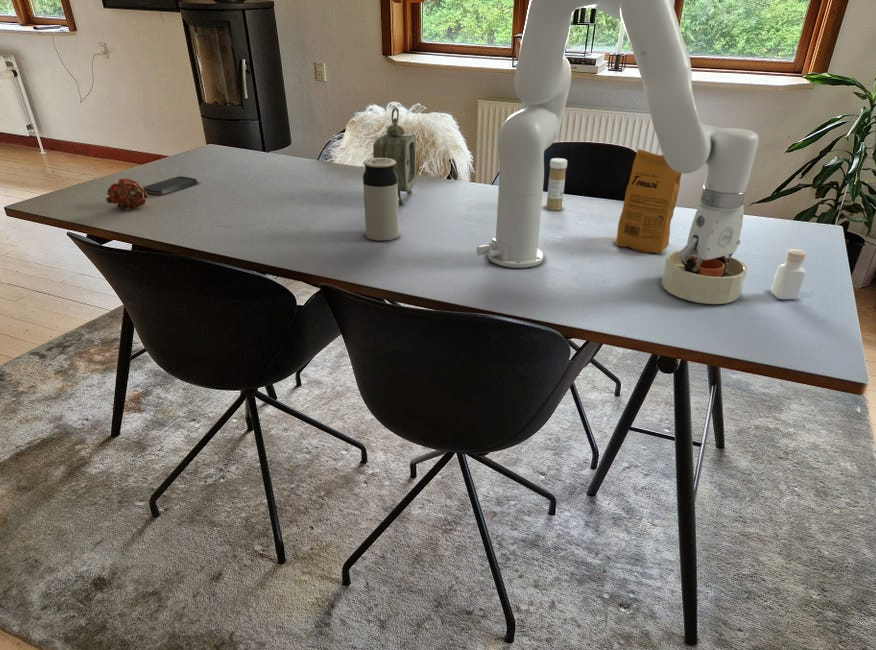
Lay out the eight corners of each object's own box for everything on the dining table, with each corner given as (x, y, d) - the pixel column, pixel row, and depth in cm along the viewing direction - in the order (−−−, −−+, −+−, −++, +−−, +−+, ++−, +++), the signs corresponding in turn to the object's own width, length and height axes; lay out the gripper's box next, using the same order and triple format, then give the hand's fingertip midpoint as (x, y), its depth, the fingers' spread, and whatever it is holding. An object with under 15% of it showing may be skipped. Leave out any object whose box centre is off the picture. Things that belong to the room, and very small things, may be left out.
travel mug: (403, 232, 156) (401, 158, 147) (392, 243, 150) (389, 166, 140) (373, 229, 158) (369, 156, 149) (361, 239, 151) (356, 163, 142)
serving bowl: (703, 312, 120) (710, 283, 117) (645, 283, 132) (651, 256, 128) (755, 296, 127) (763, 269, 124) (696, 270, 138) (702, 244, 135)
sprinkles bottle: (553, 205, 178) (558, 156, 171) (565, 209, 175) (571, 160, 168) (542, 208, 176) (546, 159, 169) (554, 212, 173) (559, 162, 166)
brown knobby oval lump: (147, 217, 167) (116, 218, 172) (161, 192, 171) (130, 193, 175) (123, 197, 160) (91, 197, 165) (137, 171, 163) (106, 172, 168)
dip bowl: (702, 297, 125) (708, 272, 122) (675, 284, 130) (681, 260, 127) (725, 290, 128) (732, 265, 125) (699, 278, 133) (704, 254, 130)
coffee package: (623, 234, 158) (638, 144, 146) (673, 244, 152) (692, 151, 140) (609, 245, 151) (623, 151, 139) (660, 257, 145) (679, 160, 133)
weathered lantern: (406, 208, 173) (404, 112, 160) (374, 206, 174) (370, 111, 162) (416, 193, 186) (415, 103, 173) (386, 192, 187) (383, 102, 174)
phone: (198, 179, 191) (159, 191, 179) (199, 182, 191) (160, 195, 180) (179, 175, 194) (139, 187, 182) (180, 179, 194) (140, 191, 182)
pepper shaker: (787, 292, 129) (801, 248, 124) (797, 300, 126) (812, 255, 121) (768, 291, 129) (782, 248, 124) (778, 300, 125) (792, 255, 121)
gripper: (706, 209, 113) (685, 299, 122) (769, 197, 120) (745, 282, 129) (674, 198, 118) (657, 285, 127) (736, 187, 126) (716, 269, 135)
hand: (701, 283), depth 128 cm, fingers closed on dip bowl, 7 cm apart
